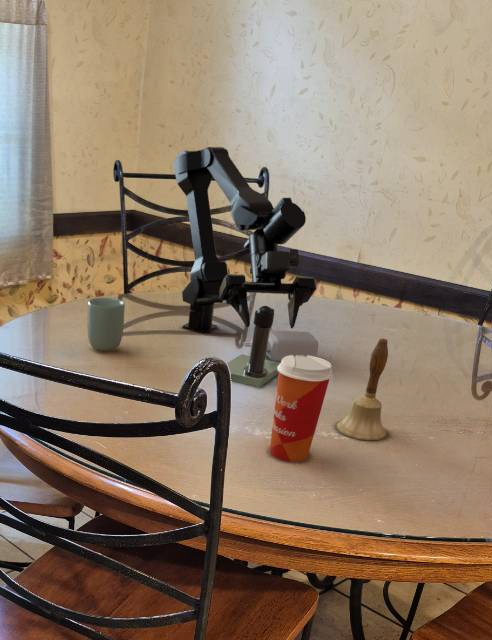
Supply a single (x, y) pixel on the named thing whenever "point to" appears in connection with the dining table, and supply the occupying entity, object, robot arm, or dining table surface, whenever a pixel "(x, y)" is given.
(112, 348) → the cup
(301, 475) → the dining table surface
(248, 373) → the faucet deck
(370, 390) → the hand bell
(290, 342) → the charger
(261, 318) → the spout
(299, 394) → the coffee cup
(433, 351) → the dining table surface
